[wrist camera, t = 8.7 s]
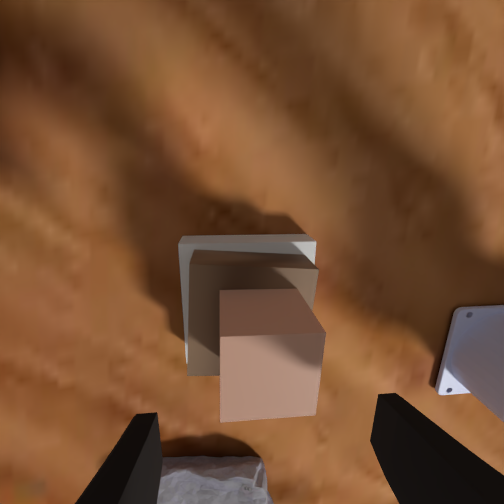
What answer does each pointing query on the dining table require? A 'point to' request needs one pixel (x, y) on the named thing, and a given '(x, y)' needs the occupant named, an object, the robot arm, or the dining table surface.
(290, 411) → the terracotta cube
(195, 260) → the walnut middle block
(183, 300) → the grey base block
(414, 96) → the dining table surface
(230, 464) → the stone block
